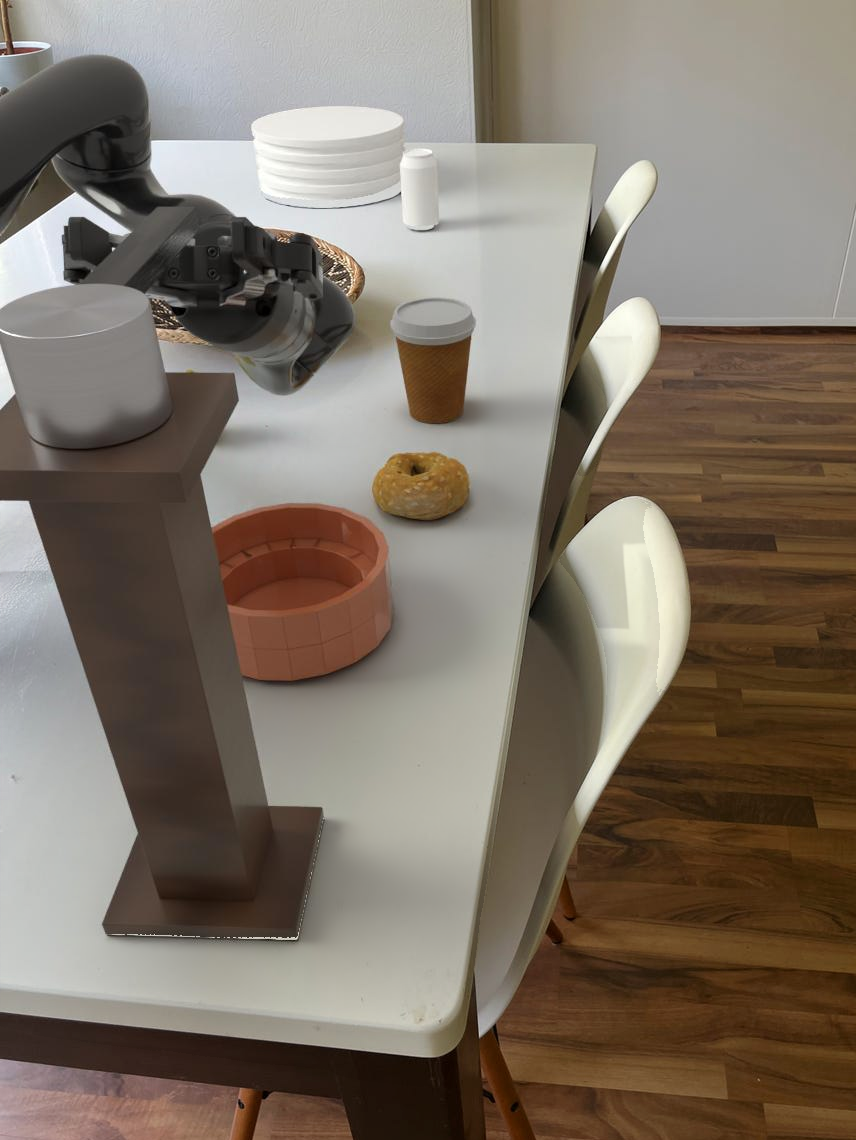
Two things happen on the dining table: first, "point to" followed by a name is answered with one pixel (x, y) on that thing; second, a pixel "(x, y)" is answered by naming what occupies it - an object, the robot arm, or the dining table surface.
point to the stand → (166, 671)
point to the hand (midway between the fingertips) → (155, 236)
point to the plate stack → (328, 152)
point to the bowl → (303, 588)
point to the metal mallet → (97, 344)
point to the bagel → (421, 485)
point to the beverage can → (419, 187)
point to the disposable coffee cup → (434, 355)
